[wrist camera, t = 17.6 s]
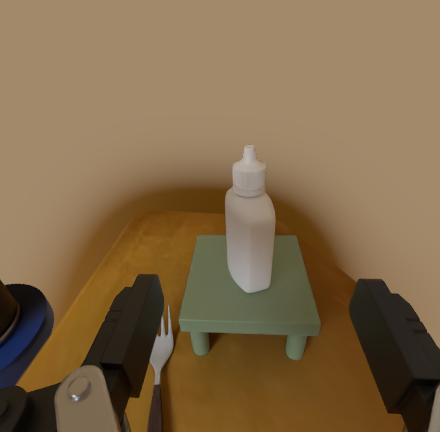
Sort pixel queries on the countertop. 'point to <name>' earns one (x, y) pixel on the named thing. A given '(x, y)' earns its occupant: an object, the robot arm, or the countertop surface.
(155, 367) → the fork
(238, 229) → the eye dropper bottle
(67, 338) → the countertop surface
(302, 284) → the stool
